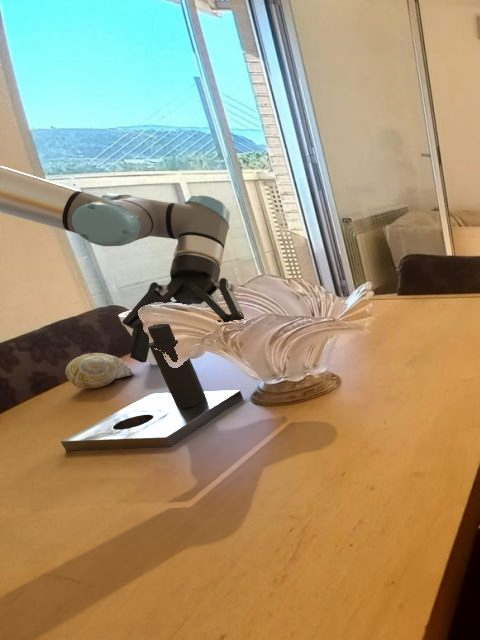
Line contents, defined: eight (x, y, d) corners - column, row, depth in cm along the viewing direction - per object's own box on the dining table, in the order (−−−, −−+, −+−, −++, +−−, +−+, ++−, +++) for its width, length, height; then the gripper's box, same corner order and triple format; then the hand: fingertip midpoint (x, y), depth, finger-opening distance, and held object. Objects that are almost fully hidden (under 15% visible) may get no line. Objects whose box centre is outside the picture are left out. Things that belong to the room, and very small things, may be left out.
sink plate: (65, 451, 82) (60, 441, 81) (156, 401, 99) (152, 393, 98) (170, 447, 82) (166, 437, 82) (243, 398, 99) (240, 390, 98)
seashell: (125, 366, 115) (117, 334, 110) (142, 390, 112) (134, 359, 107) (64, 379, 107) (51, 346, 102) (80, 406, 105) (68, 373, 99)
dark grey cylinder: (170, 408, 91) (134, 330, 85) (189, 397, 95) (156, 322, 89) (194, 407, 91) (160, 329, 85) (212, 396, 96) (181, 321, 89)
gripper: (273, 269, 104) (260, 357, 97) (144, 277, 100) (121, 369, 93) (252, 249, 97) (237, 342, 90) (113, 256, 93) (85, 355, 86)
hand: (178, 356), depth 91 cm, fingers open, 13 cm apart
